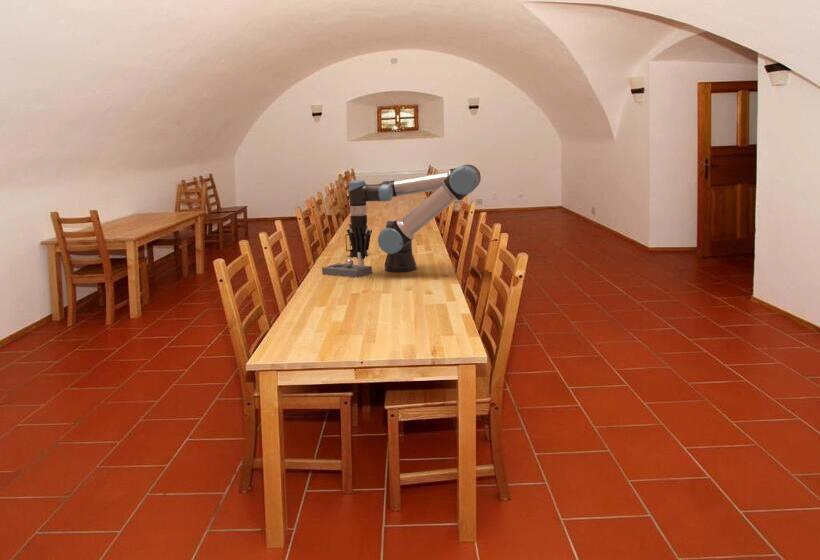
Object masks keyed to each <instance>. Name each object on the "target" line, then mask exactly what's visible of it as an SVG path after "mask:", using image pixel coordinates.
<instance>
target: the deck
mask: <svg viewBox="0 0 820 560" xmlns="http://www.w3.org/2000/svg"><path fill="white" fill-rule="evenodd" d="M372 267H373V266H371V265H364V266H358V264H353V266H352V267H347V266H346V265H345V263H341V262H339V263H338V262H337V263H334V264H331V265H327V266H324V267H322V268H321V274H322V275H326V274H328V275H329V276H336V275H340V276H339V277H345V276H350V277H349V278H355V277H357V278H360V277H362V276H366V275H369V274H372V273H373V268H372ZM328 275H327V276H328ZM359 276H360V277H359Z"/></svg>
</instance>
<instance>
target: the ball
mask: <svg viewBox="0 0 820 560" xmlns="http://www.w3.org/2000/svg"><path fill="white" fill-rule="evenodd" d="M344 264H345V265H346V266H347V267H352V266H353V265H354V261H353V259H352V258H347V259H345V260H344Z"/></svg>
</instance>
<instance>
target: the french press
mask: <svg viewBox="0 0 820 560" xmlns="http://www.w3.org/2000/svg"><path fill="white" fill-rule="evenodd" d="M351 225H352V224H351V223H348V227H349V229H350V228H351ZM365 235H366V232H365ZM344 236H345V239H347V236H349V234H348V233H346V234H345V235H344ZM348 238H349V237H348ZM347 243H348V242H347V240H345V250H346V252H349V257H350V258H353V257H356V251H355V250H352V248H349V249H348V244H347ZM349 247H352V246H351V242H350V238H349ZM365 256H366V257H368V256H369V255H368V250H367V251H365Z"/></svg>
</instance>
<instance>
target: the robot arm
mask: <svg viewBox="0 0 820 560" xmlns="http://www.w3.org/2000/svg"><path fill="white" fill-rule="evenodd" d="M481 177H482V176H481V173H480V170H479V169H478V167H476V166H475V165H472V164H463V165H460V166H458V167H455V168H453V167H452V168H450V169H449V170H448V171H444V172H438V173H432V174H431V173H430V174H425V175H419V176H413V177H407V178H401V179H396V180H395V179H394V180H385V181H382V182H380V183H378V184H366V180H363V179H354V180H349V182H348V196H349V198H348V199H349V212H350V213H349V214H350V219H349V220H350V224H352V225H351V228H350V227H349V229H347V230H346V232H347V233H346V234H349V235H348V238H350V242H349V243H350V244H351V246H350V247H351V249H352V250H355V251H356V257H357V258H356V259H357V265H358V266H365V259H366V257H365V251H367V252H368V251H369V247H370V240H371V236H372V234H373V230H372V229H371V230H370V229H369V228H368V227H369V226H368V216H367V213H368V211H367V209H368V208H367V202H383V203H384V202H390V201H392V200H393V198H397V197H402V196H409V195H413V194H414V195H415V194H421V193H428V192H433V193H432V194H431V195H429V196H428V197H427V198H426V199H424V200H423V201H422V202H421V203H420V204H419V205H417V206H416V207H414V208H413V210H411V211H410V212H408V214H406V216H403V218H397V219H395V220H388V221H386V224H385V228H384V229H382V230H381V231H380V232H379V234H378V237H377V243H378V247H379V248H380V249H381V251H383V252H384V253H386V254H387V255H386V257H385V263H384V266H383V267H384V270H385V271H386V272H392V273H393V272H395V273H399V272H400V273H403V272H404V273H405V272H410V271H414V270H416V269H417V263H416V260H415V257H414V254H413V245H412V243H413V241H412V240H414V239H415V238H414V237H415V235H416V233H418V231H420V230H421V229H422V228H423V227H424V226H426V225H427V224H428V223H429V222H431V221H433V220H434V219H435V218H436V217H437V216H438V215H440V213H442V212H443V211H444V210H445V209H447V208H448V207H449V206H450V205H451V204H453V203H454V202H460V201H463V199H465V197H467V196H468V195H469V194H470V193H472V192H474V191H475V189H477V187H479V185H480V183H481ZM365 233H366V235H365Z"/></svg>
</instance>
